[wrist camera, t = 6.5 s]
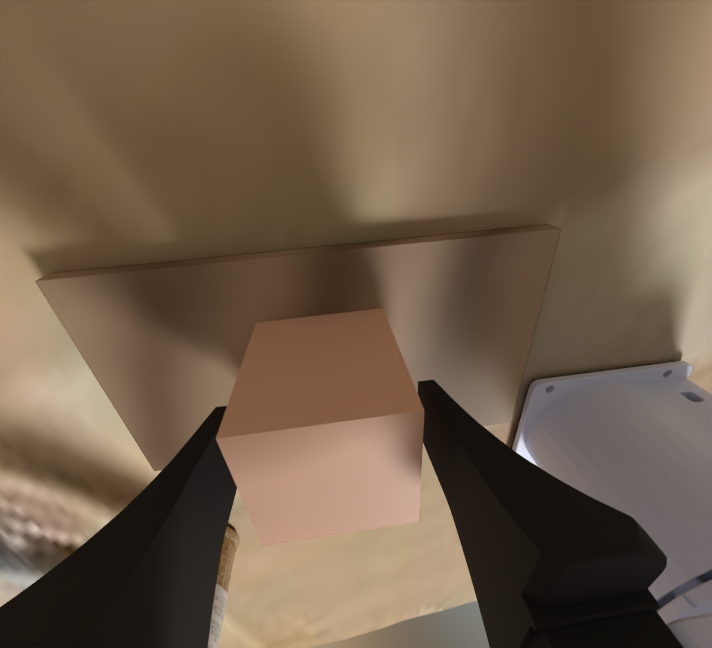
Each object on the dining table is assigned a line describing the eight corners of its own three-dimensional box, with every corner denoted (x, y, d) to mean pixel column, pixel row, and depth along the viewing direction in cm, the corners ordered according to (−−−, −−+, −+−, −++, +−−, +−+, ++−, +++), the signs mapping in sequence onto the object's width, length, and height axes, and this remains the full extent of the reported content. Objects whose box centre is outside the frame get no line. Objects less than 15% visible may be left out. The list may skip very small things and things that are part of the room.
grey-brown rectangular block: (547, 224, 13) (690, 272, 8) (503, 411, 19) (572, 509, 14) (51, 273, 12) (-141, 364, 7) (160, 458, 17) (97, 583, 12)
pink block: (382, 308, 13) (424, 410, 8) (385, 400, 16) (418, 521, 11) (255, 322, 13) (215, 438, 8) (280, 414, 16) (262, 546, 11)
